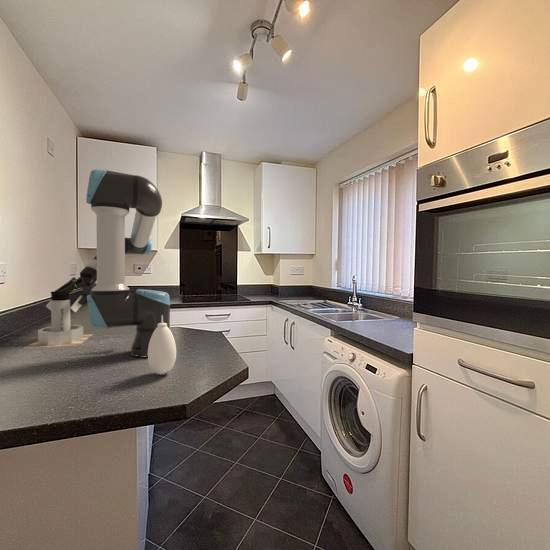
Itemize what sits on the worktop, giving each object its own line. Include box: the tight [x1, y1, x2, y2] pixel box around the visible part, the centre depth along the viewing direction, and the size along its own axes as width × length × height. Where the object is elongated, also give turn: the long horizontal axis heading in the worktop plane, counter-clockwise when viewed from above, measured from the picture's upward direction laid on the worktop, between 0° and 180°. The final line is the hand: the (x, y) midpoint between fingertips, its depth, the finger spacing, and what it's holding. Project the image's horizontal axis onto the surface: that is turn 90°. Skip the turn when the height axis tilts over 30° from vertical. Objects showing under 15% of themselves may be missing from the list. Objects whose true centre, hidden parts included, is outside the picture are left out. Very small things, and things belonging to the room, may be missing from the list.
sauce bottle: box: [147, 315, 177, 374], centre depth 88 cm, size 8×8×18 cm
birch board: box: [23, 333, 94, 349], centre depth 120 cm, size 18×18×1 cm
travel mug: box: [50, 290, 71, 332], centre depth 120 cm, size 6×7×20 cm
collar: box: [37, 324, 84, 346], centre depth 120 cm, size 14×14×5 cm
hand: (60, 309), depth 120 cm, fingers open, 13 cm apart
